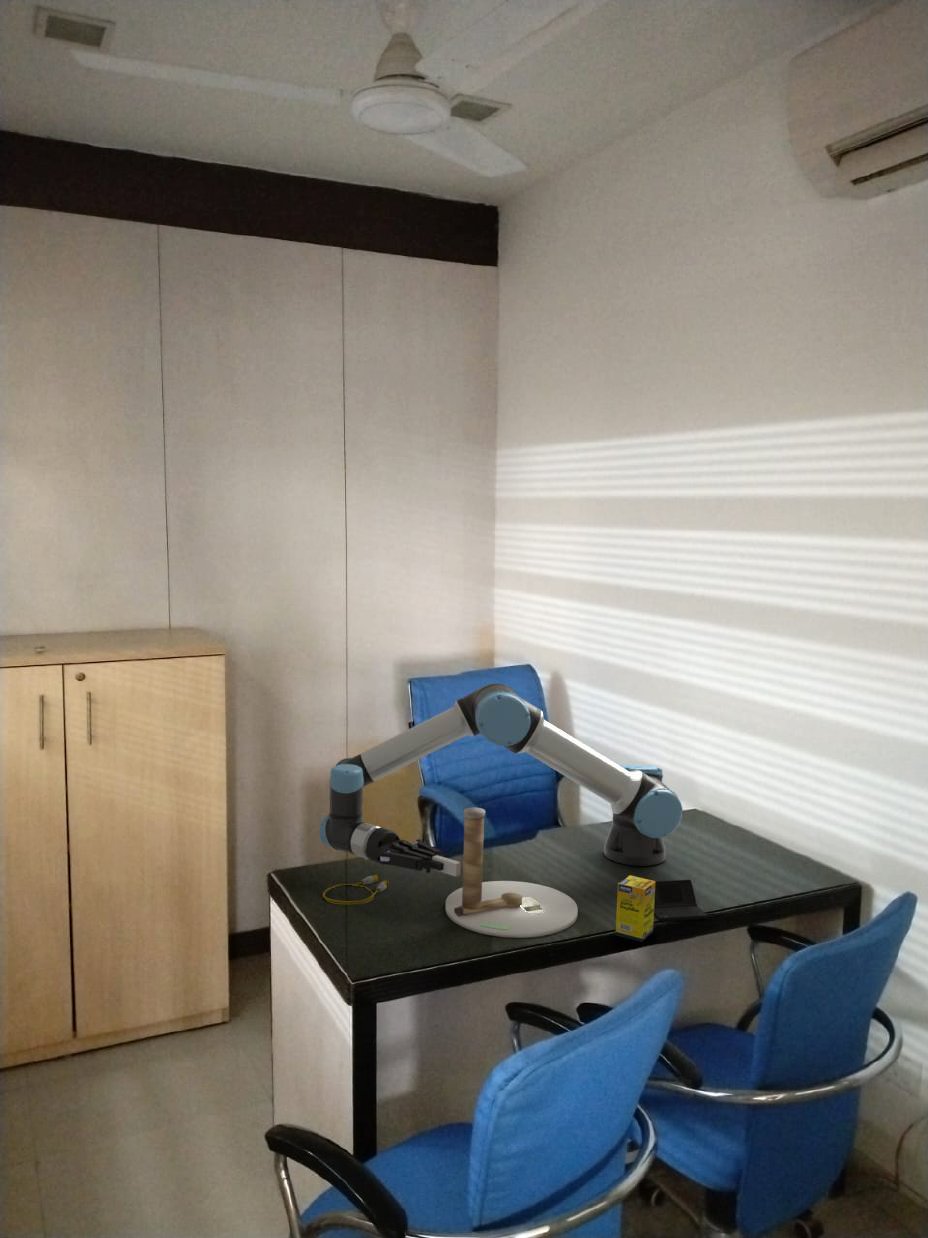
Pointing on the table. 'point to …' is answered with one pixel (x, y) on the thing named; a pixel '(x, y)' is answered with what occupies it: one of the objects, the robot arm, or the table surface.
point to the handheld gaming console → (676, 901)
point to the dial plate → (516, 911)
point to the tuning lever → (477, 868)
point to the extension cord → (365, 881)
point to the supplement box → (635, 908)
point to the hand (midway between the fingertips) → (458, 869)
